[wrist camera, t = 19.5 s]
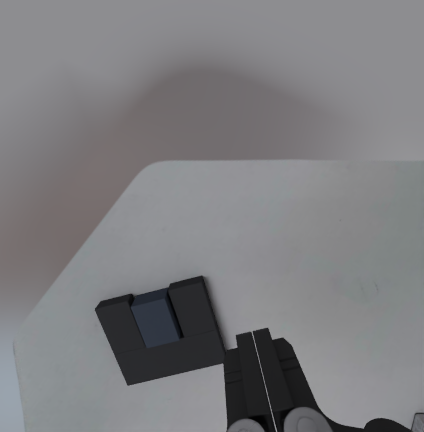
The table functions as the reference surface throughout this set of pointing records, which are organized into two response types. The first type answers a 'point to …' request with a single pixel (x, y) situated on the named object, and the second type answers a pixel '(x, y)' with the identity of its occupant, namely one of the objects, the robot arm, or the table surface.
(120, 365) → the black notched square slab
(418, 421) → the coffee box
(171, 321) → the small block
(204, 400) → the table surface
